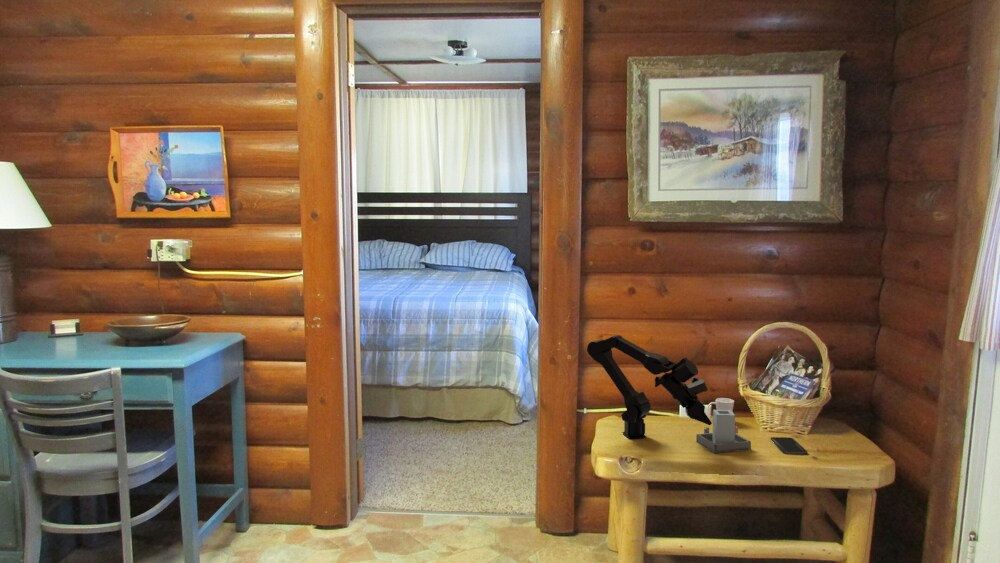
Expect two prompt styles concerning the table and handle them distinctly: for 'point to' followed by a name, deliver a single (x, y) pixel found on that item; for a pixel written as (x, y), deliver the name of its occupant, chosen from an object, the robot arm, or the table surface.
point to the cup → (722, 404)
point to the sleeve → (724, 426)
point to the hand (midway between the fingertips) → (708, 420)
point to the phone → (789, 446)
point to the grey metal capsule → (706, 430)
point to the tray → (737, 445)
